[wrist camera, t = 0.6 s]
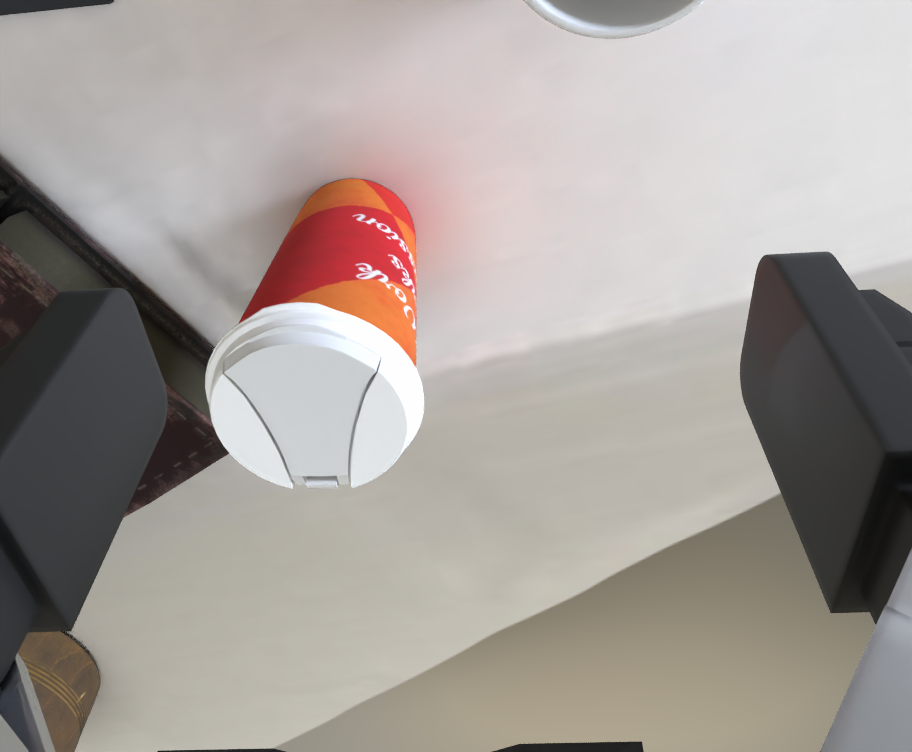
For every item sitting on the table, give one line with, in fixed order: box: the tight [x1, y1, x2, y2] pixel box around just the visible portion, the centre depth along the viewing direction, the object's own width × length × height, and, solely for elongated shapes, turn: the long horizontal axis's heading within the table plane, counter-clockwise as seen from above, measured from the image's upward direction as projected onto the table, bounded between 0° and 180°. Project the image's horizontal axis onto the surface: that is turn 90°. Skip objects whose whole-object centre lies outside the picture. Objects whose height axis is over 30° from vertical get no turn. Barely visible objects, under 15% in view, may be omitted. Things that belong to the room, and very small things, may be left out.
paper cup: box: [205, 179, 424, 489], centre depth 33 cm, size 8×8×14 cm
